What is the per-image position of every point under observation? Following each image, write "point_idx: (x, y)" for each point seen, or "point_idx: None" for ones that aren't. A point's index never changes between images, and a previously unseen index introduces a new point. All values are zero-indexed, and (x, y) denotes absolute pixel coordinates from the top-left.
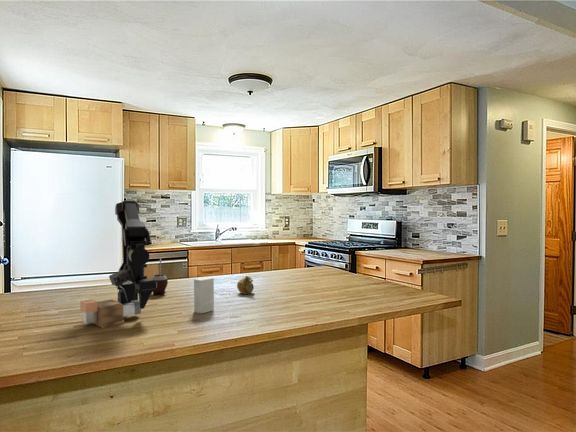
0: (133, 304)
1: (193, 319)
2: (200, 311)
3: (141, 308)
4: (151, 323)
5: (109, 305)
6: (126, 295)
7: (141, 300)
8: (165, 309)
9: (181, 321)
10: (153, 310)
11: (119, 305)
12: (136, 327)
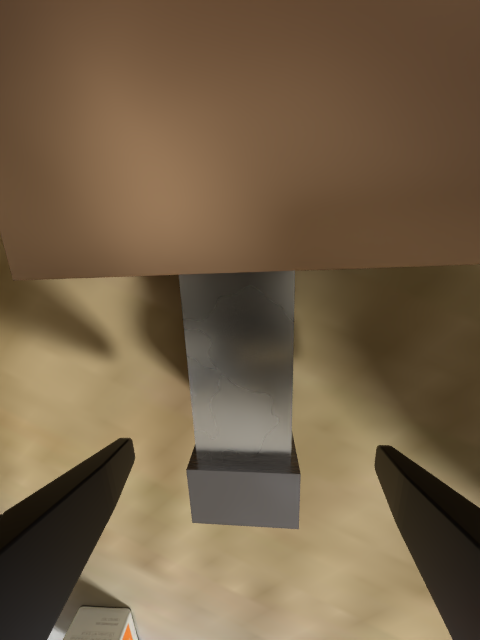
0: (196, 436)
1: None
2: (76, 619)
3: (117, 441)
4: (45, 388)
5: (32, 25)
6: (471, 538)
7: (9, 516)
8: (269, 562)
9: (4, 497)
10: (301, 519)
11: (5, 214)
12: (10, 290)
